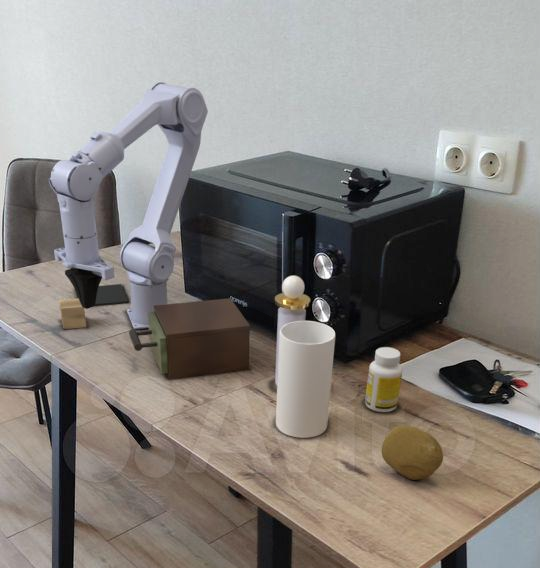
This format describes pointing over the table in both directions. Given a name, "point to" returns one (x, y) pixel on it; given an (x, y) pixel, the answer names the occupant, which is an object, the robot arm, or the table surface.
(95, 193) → the robot arm
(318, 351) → the cup
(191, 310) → the cabinet
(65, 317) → the block
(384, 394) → the supplement bottle
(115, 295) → the mat
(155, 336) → the drawer
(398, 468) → the potato
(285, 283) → the perfume bottle
